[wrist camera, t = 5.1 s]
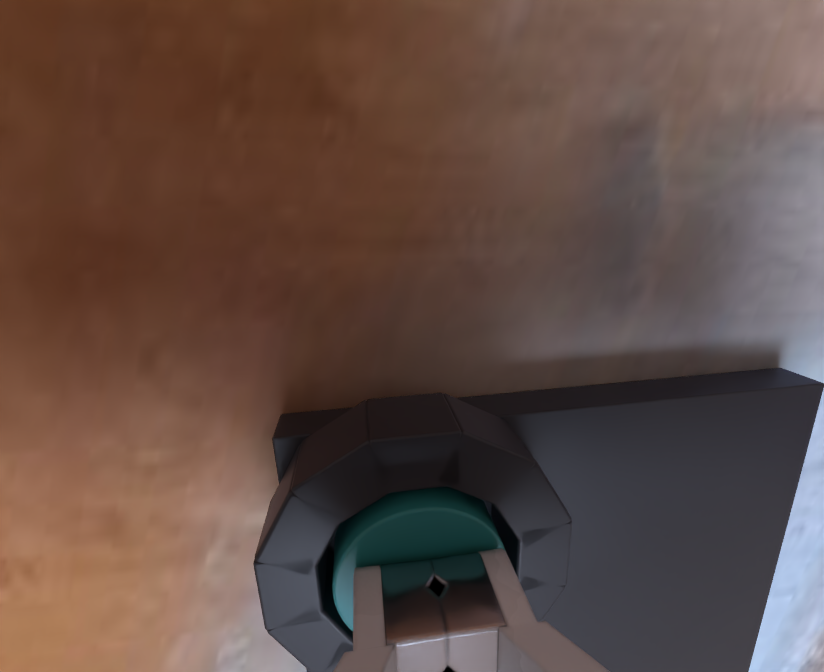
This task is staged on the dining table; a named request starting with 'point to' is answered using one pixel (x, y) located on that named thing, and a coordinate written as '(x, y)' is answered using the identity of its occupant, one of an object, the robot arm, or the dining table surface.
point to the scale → (564, 507)
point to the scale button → (408, 535)
